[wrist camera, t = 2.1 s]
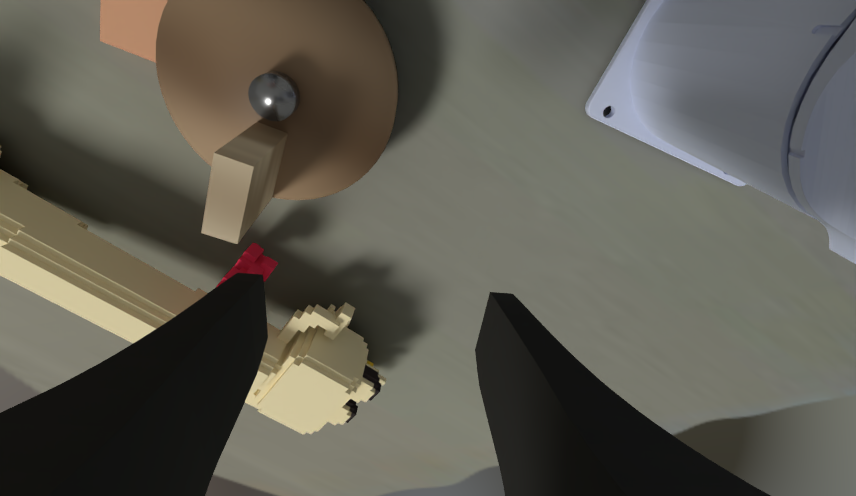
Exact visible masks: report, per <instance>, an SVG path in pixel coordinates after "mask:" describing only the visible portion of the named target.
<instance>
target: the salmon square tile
mask: <svg viewBox="0 0 856 496" xmlns="http://www.w3.org/2000/svg"><path fill="white" fill-rule="evenodd" d="M167 2H168V0H101V16H100V41H102V42H104V43H107V44H109V45H112V46H115V47H117V48H120V49H122V50H125V51H127V52H130V53H132V54H135V55H138V56H140V57H143V58H145V59H148V60H150V61H153V62H155V63H156V38H157V32H158V26H159V22H160V19H161V16H162V13H163V10H164V8H165V6H166V4H167Z"/></svg>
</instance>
